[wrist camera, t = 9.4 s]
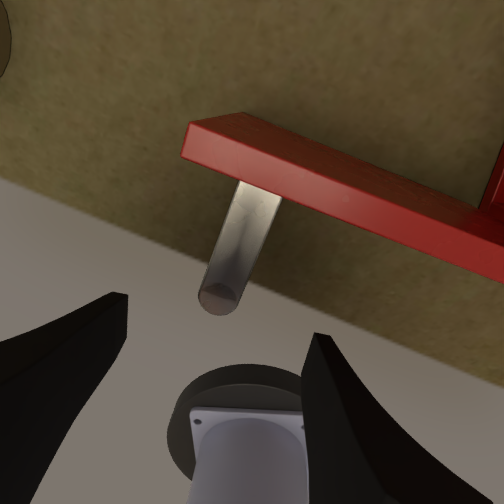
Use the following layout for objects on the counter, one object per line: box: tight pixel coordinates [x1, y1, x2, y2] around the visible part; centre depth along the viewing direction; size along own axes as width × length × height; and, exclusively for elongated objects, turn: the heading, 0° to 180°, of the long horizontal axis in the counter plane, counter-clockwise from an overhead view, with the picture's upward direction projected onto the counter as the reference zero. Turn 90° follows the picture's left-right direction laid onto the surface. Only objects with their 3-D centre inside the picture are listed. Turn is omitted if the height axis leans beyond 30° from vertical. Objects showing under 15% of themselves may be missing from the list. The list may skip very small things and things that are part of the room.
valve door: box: [180, 112, 504, 315], centre depth 13 cm, size 6×13×10 cm, turn 70°
